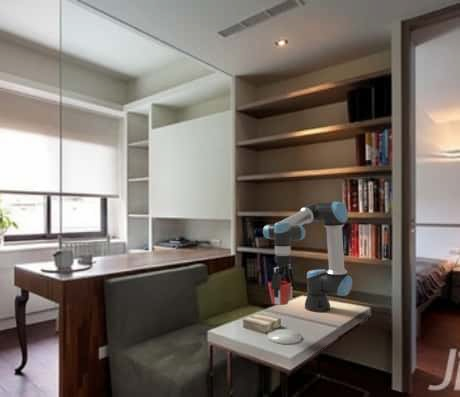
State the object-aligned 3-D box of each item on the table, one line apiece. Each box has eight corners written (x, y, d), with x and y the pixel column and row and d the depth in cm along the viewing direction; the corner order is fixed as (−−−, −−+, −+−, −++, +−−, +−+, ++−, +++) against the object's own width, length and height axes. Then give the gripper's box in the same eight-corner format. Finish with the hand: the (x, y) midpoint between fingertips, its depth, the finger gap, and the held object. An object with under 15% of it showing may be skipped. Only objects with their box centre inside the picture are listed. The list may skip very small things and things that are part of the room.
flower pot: (273, 299, 172) (273, 279, 172) (294, 301, 167) (294, 281, 167) (265, 304, 163) (264, 283, 163) (287, 307, 157) (286, 286, 158)
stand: (259, 320, 188) (259, 313, 188) (280, 326, 178) (280, 318, 178) (243, 327, 177) (243, 319, 177) (265, 333, 168) (264, 325, 168)
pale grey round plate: (279, 329, 174) (279, 327, 174) (307, 336, 163) (307, 334, 163) (260, 338, 162) (260, 336, 162) (289, 347, 151) (289, 344, 151)
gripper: (288, 251, 174) (289, 295, 174) (262, 256, 158) (263, 305, 157) (301, 252, 169) (302, 298, 169) (276, 258, 153) (276, 308, 152)
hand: (283, 301), depth 163 cm, fingers closed on flower pot, 10 cm apart
